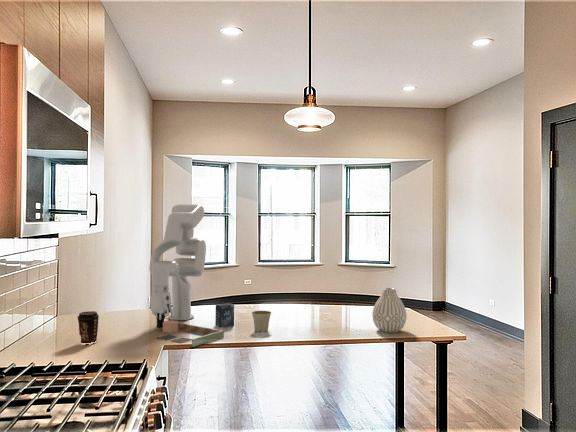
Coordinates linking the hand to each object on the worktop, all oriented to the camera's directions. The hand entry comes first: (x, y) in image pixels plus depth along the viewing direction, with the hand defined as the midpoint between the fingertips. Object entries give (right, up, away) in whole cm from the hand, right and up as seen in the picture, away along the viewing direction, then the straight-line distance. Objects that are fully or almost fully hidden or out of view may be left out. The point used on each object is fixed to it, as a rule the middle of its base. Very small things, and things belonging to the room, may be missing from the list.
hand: (160, 327), depth 239 cm
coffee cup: (-24, -2, -24) cm, 35 cm away
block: (+5, -1, -2) cm, 6 cm away
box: (+29, -1, +9) cm, 31 cm away
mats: (+11, -1, -17) cm, 20 cm away
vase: (+108, -2, 0) cm, 108 cm away
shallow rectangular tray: (+13, -1, -13) cm, 18 cm away
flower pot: (+48, -2, -1) cm, 48 cm away
